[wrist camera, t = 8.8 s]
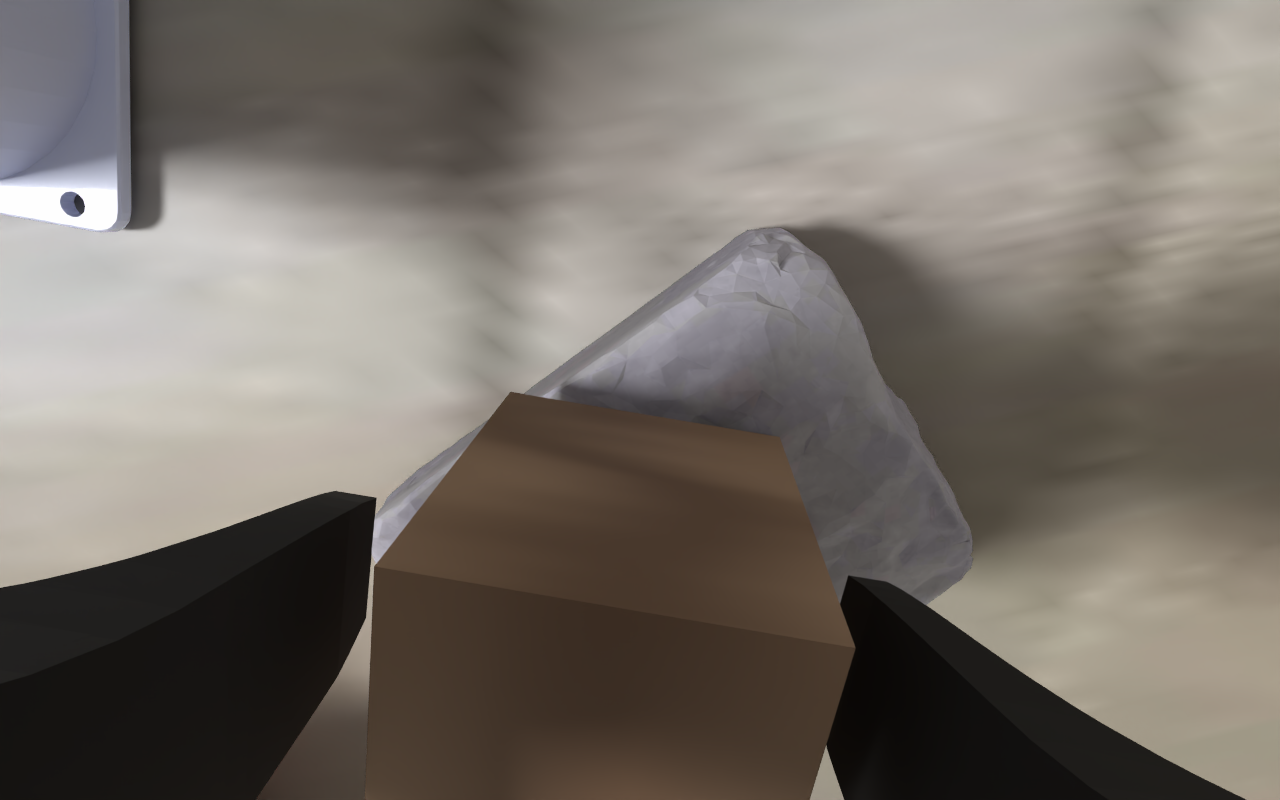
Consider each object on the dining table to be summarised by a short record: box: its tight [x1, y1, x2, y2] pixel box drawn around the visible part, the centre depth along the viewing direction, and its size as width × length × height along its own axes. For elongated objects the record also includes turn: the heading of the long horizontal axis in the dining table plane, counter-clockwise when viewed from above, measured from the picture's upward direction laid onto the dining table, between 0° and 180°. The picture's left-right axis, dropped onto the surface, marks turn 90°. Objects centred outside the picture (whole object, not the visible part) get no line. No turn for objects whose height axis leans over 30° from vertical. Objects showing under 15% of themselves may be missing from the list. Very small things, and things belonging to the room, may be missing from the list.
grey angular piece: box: [372, 228, 973, 605], centre depth 17 cm, size 12×5×10 cm
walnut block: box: [365, 392, 855, 800], centre depth 11 cm, size 5×5×6 cm
